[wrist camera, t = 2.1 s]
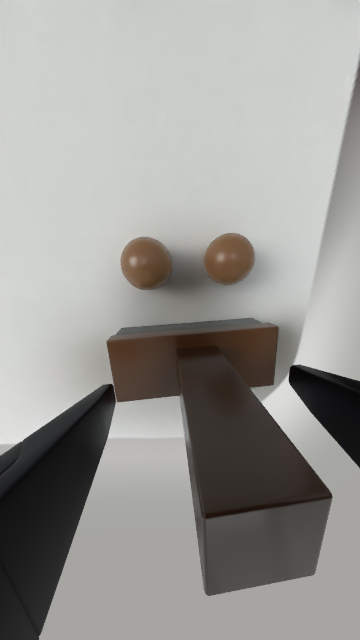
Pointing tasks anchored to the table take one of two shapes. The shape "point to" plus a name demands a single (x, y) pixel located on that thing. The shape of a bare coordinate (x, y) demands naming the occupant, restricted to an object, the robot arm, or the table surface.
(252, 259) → the brown ball
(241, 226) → the table surface
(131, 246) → the brown egg
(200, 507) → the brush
